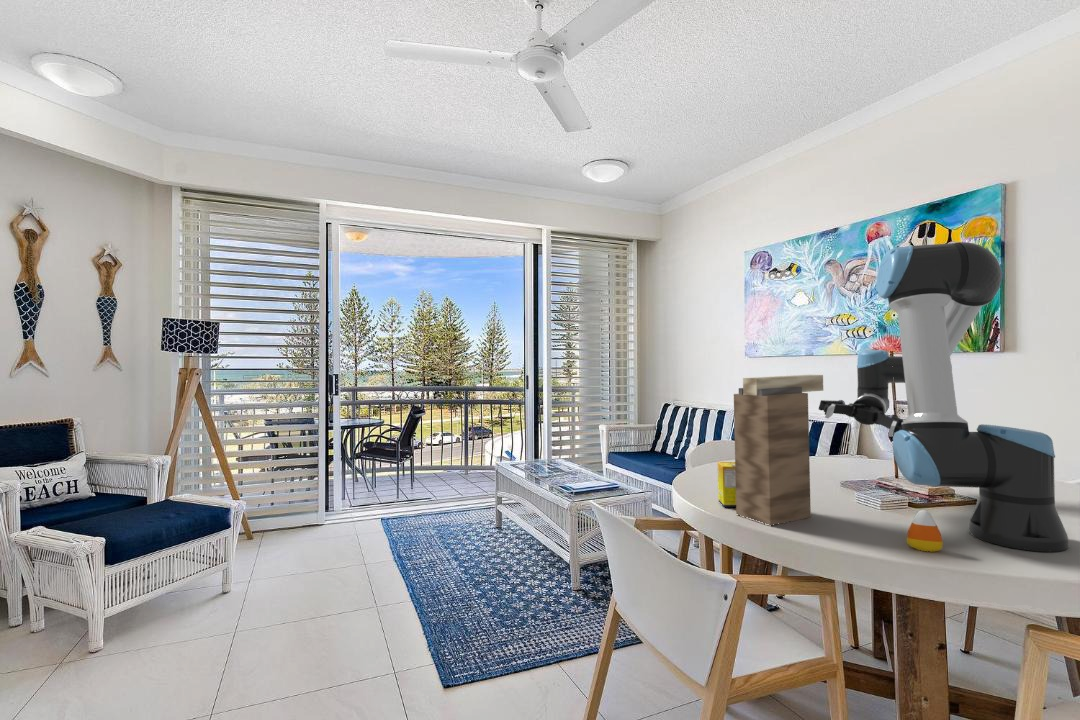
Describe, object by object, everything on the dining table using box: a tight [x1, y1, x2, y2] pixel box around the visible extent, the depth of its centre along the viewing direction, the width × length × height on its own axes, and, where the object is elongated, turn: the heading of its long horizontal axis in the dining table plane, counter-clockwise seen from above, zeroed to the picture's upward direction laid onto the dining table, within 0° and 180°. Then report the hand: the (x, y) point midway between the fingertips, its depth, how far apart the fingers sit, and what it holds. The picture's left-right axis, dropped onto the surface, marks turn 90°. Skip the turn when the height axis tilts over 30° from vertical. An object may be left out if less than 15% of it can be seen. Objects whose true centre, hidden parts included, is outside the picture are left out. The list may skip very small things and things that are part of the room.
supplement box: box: [717, 461, 736, 508], centre depth 138 cm, size 6×6×11 cm
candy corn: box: [906, 509, 944, 553], centre depth 104 cm, size 6×3×8 cm, turn 63°
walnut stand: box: [733, 387, 812, 525], centre depth 128 cm, size 10×14×32 cm
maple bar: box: [742, 374, 824, 395], centre depth 130 cm, size 4×24×4 cm, turn 116°
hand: (858, 421), depth 127 cm, fingers open, 13 cm apart
